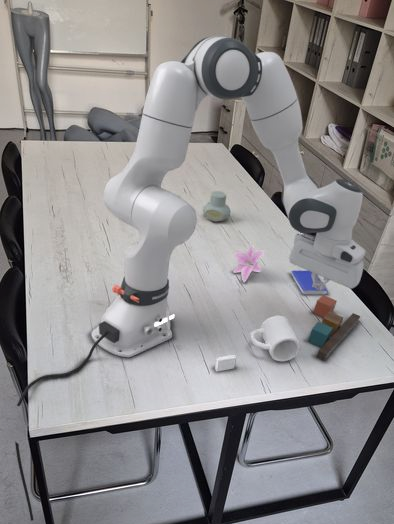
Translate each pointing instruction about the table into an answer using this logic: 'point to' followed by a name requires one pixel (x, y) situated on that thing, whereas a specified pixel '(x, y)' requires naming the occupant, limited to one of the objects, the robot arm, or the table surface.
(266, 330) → the mug
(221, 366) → the eraser
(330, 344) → the straightedge
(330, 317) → the oak block
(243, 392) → the table surface
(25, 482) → the robot arm
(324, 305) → the terracotta block
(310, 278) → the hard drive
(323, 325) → the teal block
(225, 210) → the air freshener
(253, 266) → the lily
